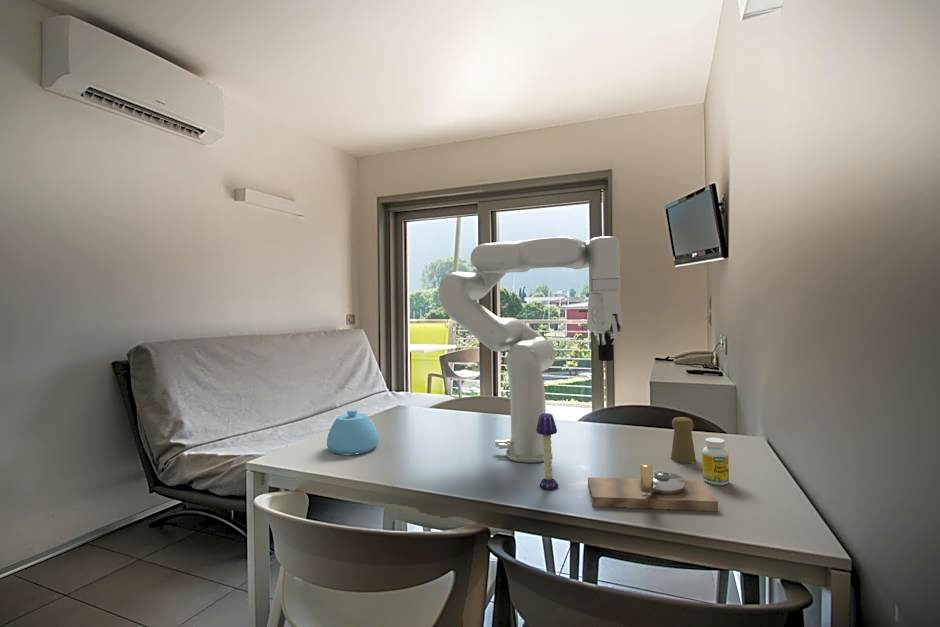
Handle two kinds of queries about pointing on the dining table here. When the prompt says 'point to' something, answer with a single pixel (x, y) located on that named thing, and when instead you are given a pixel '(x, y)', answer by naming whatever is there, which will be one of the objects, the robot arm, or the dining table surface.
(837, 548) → the dining table surface
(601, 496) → the stand plate
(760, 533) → the dining table surface
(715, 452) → the supplement bottle
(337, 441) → the sugar bowl
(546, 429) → the toy lamp
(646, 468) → the crank handle
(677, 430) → the cork
